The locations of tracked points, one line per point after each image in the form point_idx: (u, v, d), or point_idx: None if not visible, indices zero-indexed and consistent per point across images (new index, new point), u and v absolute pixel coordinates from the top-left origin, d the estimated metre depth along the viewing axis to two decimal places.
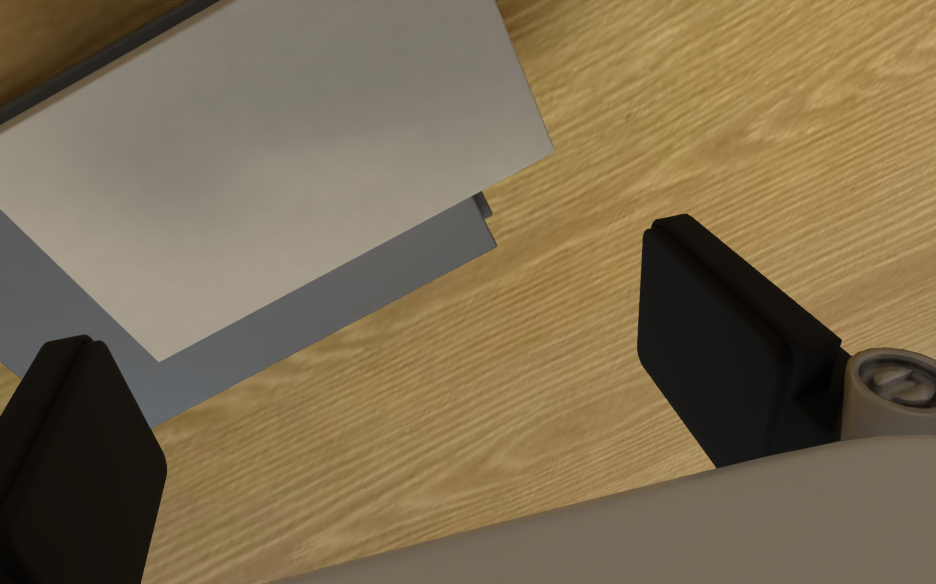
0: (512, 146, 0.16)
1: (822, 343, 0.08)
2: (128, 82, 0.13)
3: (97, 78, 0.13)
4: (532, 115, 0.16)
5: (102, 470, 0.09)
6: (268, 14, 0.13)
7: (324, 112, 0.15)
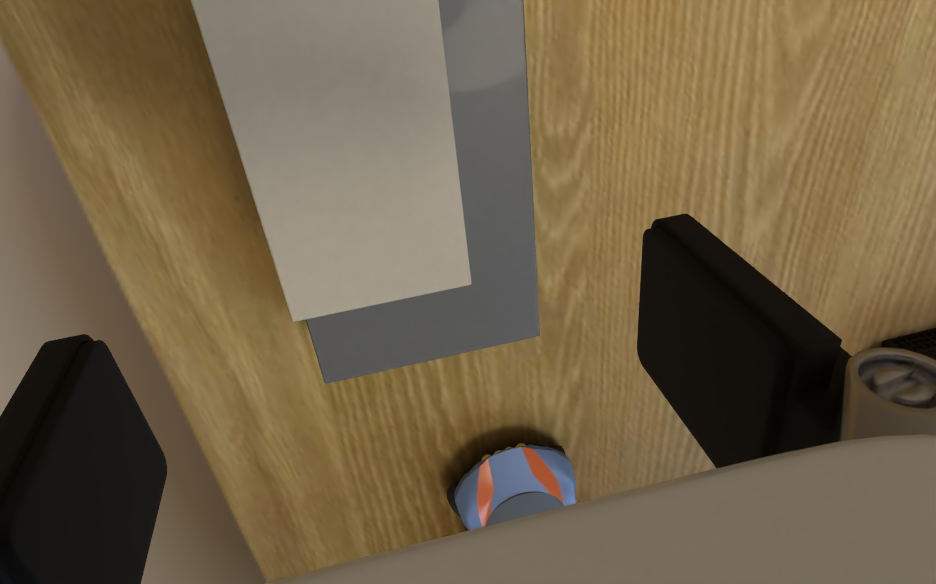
0: None
1: (822, 343, 0.08)
2: (270, 214, 0.20)
3: (263, 229, 0.20)
4: None
5: (102, 470, 0.09)
6: (244, 110, 0.18)
7: (325, 99, 0.18)
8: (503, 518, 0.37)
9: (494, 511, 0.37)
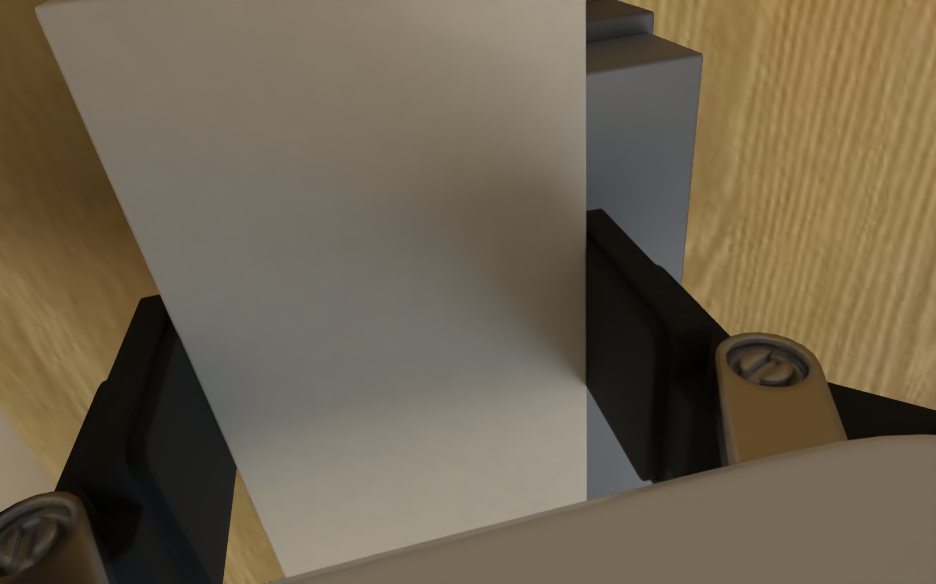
0: (535, 22, 0.08)
1: (695, 328, 0.08)
2: (261, 476, 0.11)
3: (250, 496, 0.12)
4: None
5: (199, 413, 0.10)
6: (212, 325, 0.10)
7: (365, 299, 0.10)
8: None
9: None
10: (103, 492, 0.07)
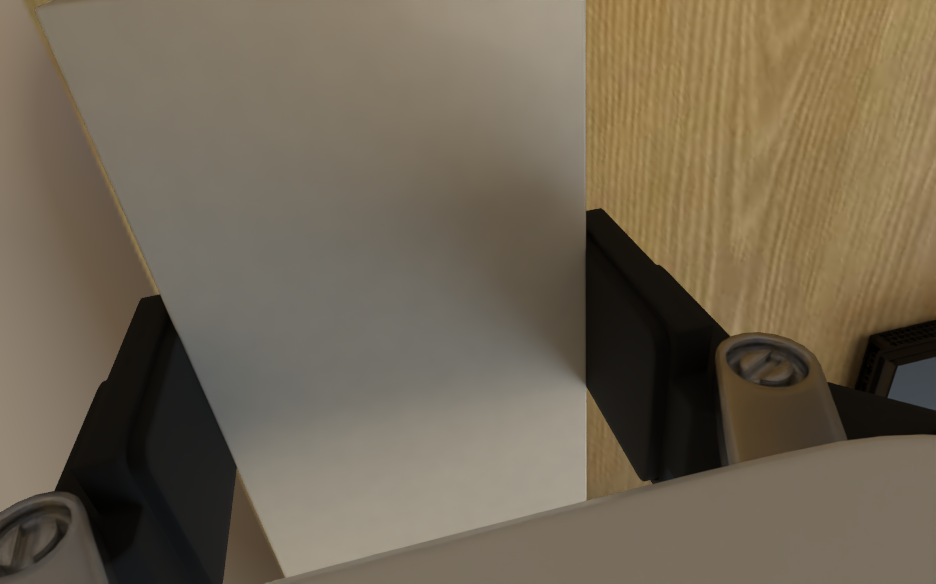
0: (535, 23, 0.08)
1: (695, 328, 0.08)
2: (261, 476, 0.11)
3: (250, 496, 0.12)
4: None
5: (199, 413, 0.10)
6: (211, 325, 0.10)
7: (364, 299, 0.10)
8: None
9: None
10: (103, 492, 0.07)
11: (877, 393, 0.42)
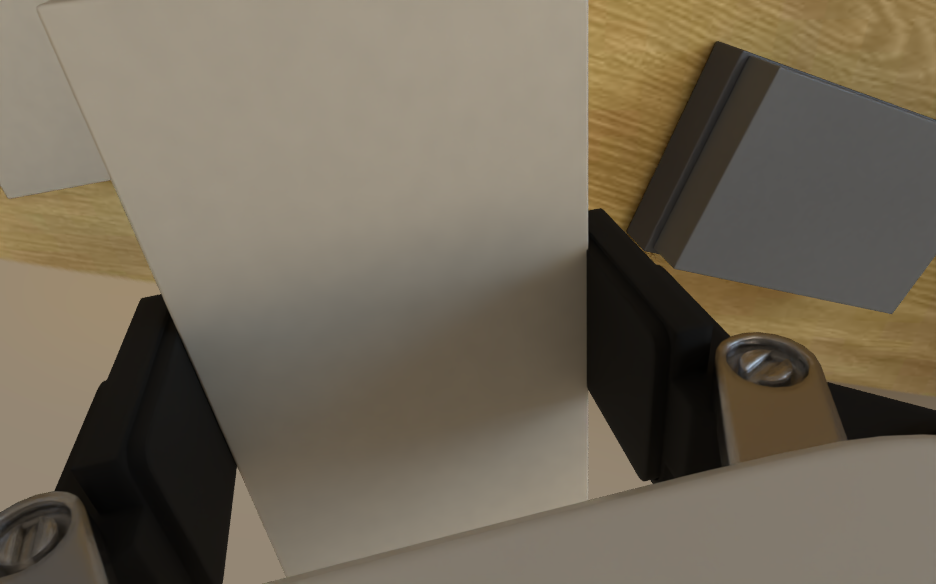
0: (538, 22, 0.08)
1: (695, 327, 0.08)
2: (262, 476, 0.11)
3: (252, 496, 0.12)
4: None
5: (199, 413, 0.10)
6: (213, 325, 0.10)
7: (367, 298, 0.10)
8: None
9: None
10: (103, 492, 0.07)
11: None
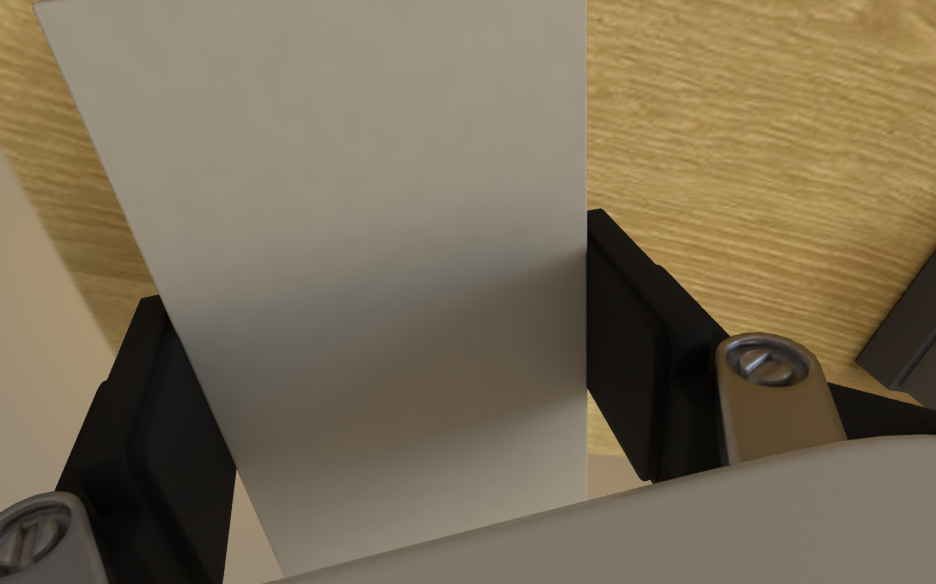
0: (536, 20, 0.08)
1: (695, 328, 0.08)
2: (260, 476, 0.11)
3: (250, 496, 0.12)
4: None
5: (199, 413, 0.10)
6: (211, 324, 0.09)
7: (364, 297, 0.10)
8: None
9: None
10: (103, 492, 0.07)
11: None
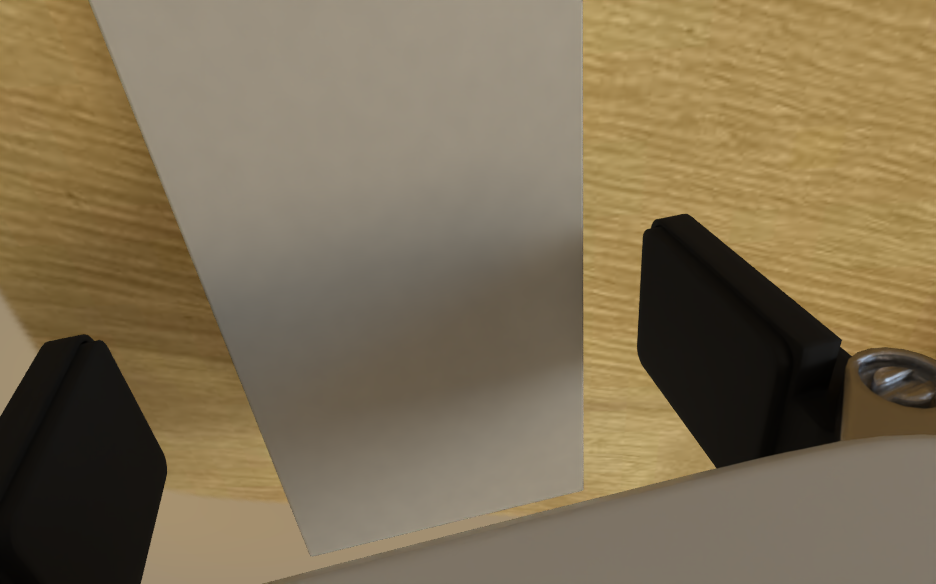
0: None
1: (822, 343, 0.08)
2: (276, 422, 0.12)
3: (265, 442, 0.12)
4: None
5: (102, 470, 0.09)
6: (232, 274, 0.10)
7: (375, 251, 0.11)
8: None
9: None
10: None
11: None
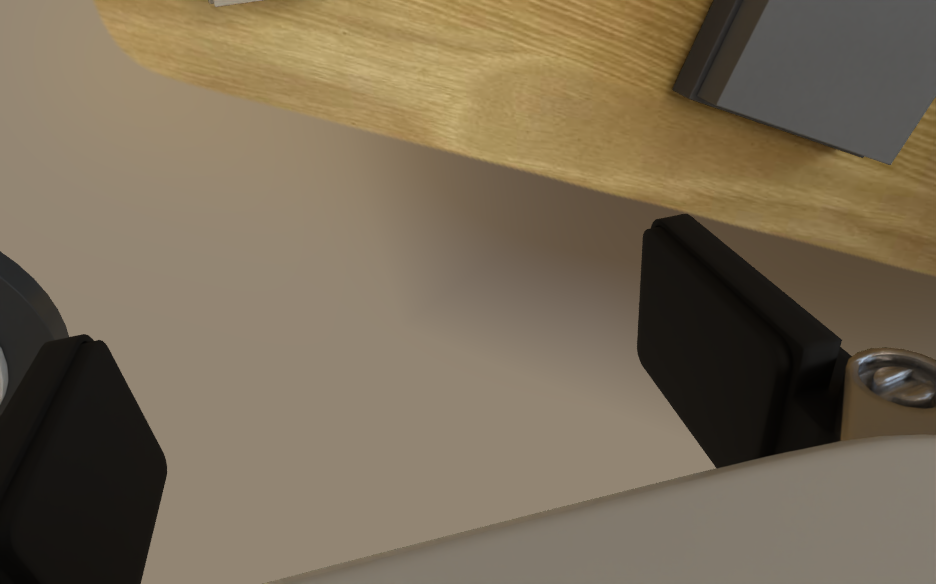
0: None
1: (822, 343, 0.08)
2: None
3: None
4: None
5: (102, 470, 0.09)
6: None
7: None
8: None
9: None
10: None
11: None
